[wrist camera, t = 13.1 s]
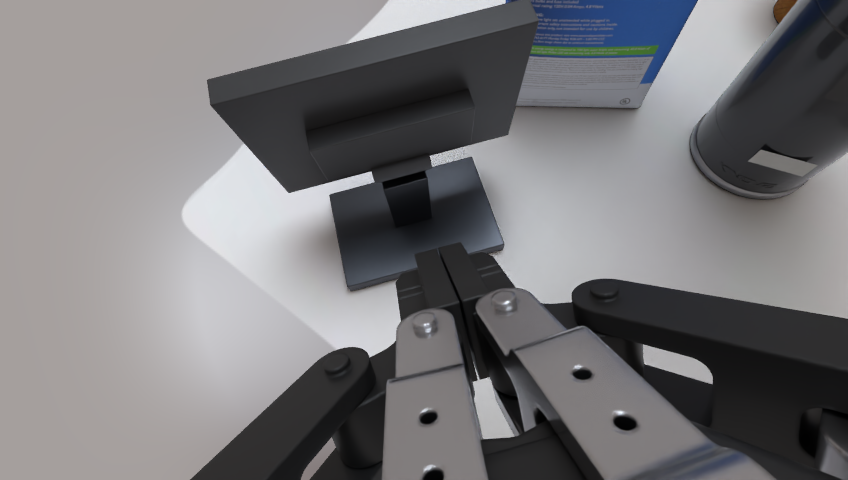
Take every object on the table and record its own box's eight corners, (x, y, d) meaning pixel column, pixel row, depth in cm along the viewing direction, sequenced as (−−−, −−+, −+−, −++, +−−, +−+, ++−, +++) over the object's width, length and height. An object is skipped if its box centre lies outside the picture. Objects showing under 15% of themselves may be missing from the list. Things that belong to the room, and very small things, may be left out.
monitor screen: (284, 173, 32) (205, 77, 21) (501, 116, 32) (528, -5, 22) (293, 220, 31) (214, 143, 20) (517, 160, 31) (555, 55, 21)
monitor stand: (332, 200, 38) (305, 152, 31) (471, 163, 38) (474, 108, 32) (350, 291, 34) (323, 259, 28) (503, 249, 35) (514, 207, 28)
